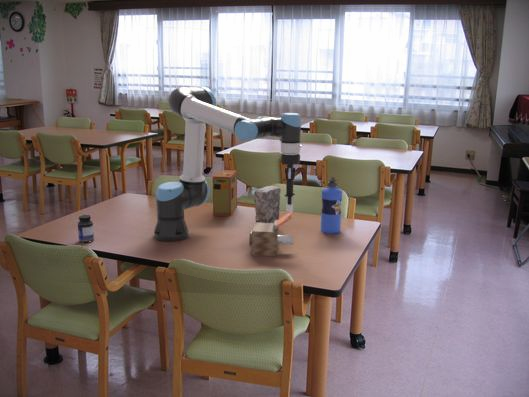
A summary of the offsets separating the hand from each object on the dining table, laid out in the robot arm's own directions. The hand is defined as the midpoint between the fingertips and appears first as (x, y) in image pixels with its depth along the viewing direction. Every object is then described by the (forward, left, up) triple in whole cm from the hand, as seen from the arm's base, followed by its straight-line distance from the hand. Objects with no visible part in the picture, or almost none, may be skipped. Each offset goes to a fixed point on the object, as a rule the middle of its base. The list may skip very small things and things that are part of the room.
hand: (289, 211), depth 214 cm
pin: (-7, 0, -15) cm, 17 cm away
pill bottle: (-87, +3, -17) cm, 89 cm away
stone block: (-11, +28, -17) cm, 34 cm away
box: (-36, +57, -17) cm, 70 cm away
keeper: (-2, 0, -4) cm, 5 cm away
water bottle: (+18, +30, -17) cm, 39 cm away
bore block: (-10, 0, -17) cm, 19 cm away
